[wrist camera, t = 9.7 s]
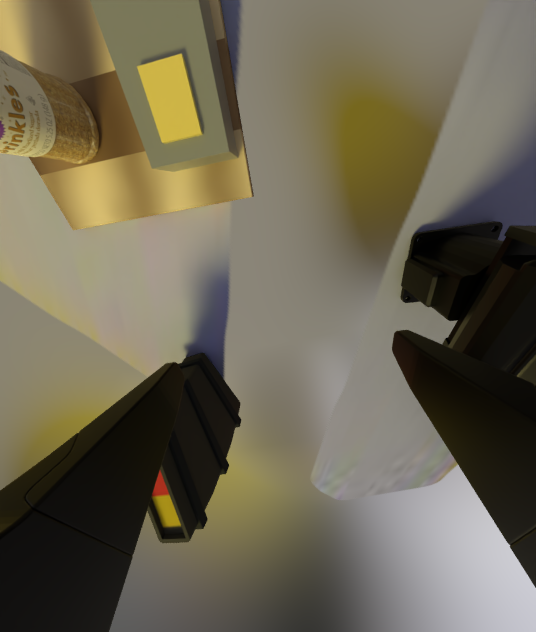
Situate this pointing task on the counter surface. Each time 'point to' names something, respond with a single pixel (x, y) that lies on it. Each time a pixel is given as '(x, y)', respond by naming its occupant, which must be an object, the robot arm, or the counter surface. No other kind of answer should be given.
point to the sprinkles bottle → (43, 115)
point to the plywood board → (113, 121)
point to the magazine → (194, 452)
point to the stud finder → (170, 79)
